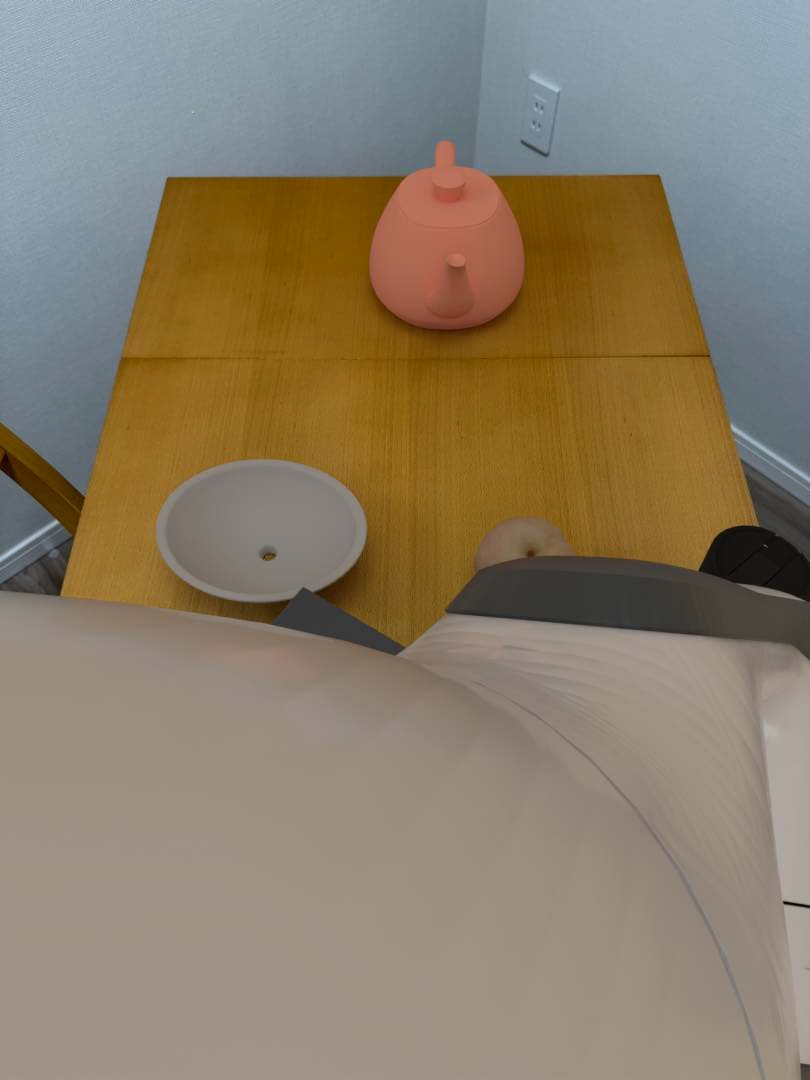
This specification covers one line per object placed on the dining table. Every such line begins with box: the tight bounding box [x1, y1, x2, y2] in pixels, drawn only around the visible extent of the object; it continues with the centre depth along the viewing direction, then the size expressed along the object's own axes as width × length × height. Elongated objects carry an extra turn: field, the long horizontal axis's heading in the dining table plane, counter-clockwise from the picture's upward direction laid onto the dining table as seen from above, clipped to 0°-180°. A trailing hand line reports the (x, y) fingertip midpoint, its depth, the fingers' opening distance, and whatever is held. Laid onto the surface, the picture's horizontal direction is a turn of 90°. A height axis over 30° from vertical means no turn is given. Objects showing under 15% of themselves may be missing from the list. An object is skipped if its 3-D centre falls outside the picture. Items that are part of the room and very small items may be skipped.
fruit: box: [474, 516, 578, 574], centre depth 69 cm, size 8×8×8 cm
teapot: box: [368, 140, 525, 331], centre depth 89 cm, size 25×17×13 cm
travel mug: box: [696, 524, 810, 602], centre depth 58 cm, size 6×7×20 cm
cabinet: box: [270, 587, 407, 656], centre depth 60 cm, size 15×13×10 cm
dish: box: [155, 458, 368, 604], centre depth 72 cm, size 18×14×5 cm
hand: (496, 830), depth 55 cm, fingers closed
